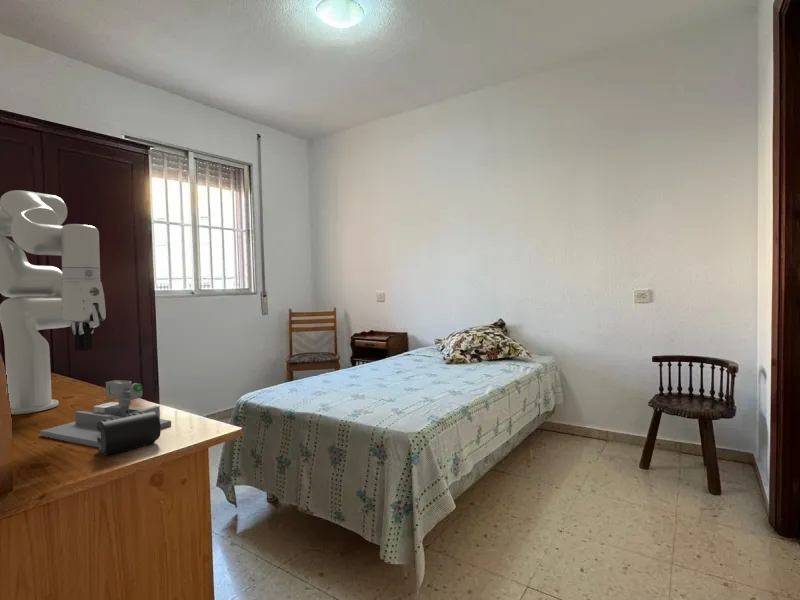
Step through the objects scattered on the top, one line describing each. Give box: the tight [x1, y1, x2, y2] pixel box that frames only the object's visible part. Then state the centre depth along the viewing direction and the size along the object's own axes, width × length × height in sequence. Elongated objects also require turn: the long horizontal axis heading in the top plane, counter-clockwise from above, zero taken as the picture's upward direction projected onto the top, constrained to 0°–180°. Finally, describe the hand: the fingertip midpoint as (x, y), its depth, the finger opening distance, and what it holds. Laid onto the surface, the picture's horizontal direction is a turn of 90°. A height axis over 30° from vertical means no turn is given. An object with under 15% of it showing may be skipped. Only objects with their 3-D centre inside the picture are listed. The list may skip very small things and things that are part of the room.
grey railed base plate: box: [39, 405, 172, 449], centre depth 102 cm, size 22×16×5 cm
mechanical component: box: [105, 379, 144, 417], centre depth 103 cm, size 3×10×10 cm, turn 68°
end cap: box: [96, 411, 162, 456], centre depth 91 cm, size 10×7×7 cm
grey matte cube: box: [93, 401, 121, 417], centre depth 105 cm, size 4×4×4 cm
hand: (83, 349), depth 108 cm, fingers closed
